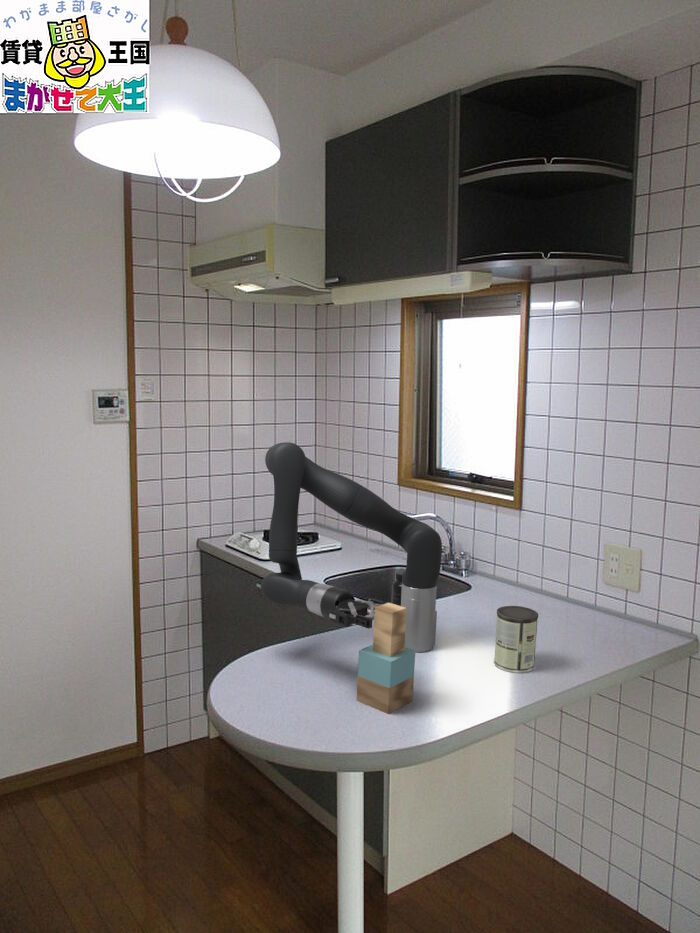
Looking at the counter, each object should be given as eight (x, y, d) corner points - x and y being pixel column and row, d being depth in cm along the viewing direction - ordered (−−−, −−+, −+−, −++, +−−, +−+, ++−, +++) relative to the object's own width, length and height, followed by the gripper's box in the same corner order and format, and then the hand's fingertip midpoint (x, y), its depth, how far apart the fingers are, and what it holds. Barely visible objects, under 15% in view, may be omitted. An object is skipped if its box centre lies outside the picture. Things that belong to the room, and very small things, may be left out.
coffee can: (501, 654, 206) (504, 602, 204) (539, 663, 201) (543, 610, 199) (487, 666, 197) (490, 613, 195) (527, 676, 192) (531, 621, 190)
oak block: (386, 644, 177) (388, 602, 176) (404, 651, 174) (406, 607, 173) (372, 650, 174) (374, 607, 172) (390, 656, 170) (392, 612, 169)
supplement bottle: (399, 605, 242) (401, 568, 240) (417, 611, 237) (419, 573, 236) (386, 611, 236) (388, 572, 235) (404, 616, 232) (406, 577, 230)
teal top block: (382, 664, 181) (383, 639, 180) (414, 676, 175) (415, 650, 175) (357, 675, 174) (358, 650, 173) (389, 688, 169) (390, 661, 168)
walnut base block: (381, 689, 182) (382, 664, 181) (412, 701, 176) (413, 676, 175) (356, 701, 175) (357, 675, 174) (387, 714, 169) (389, 688, 168)
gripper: (309, 593, 178) (363, 610, 168) (350, 580, 189) (403, 596, 178) (308, 624, 179) (362, 643, 169) (349, 610, 190) (402, 627, 180)
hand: (383, 619), depth 174 cm, fingers open, 8 cm apart
